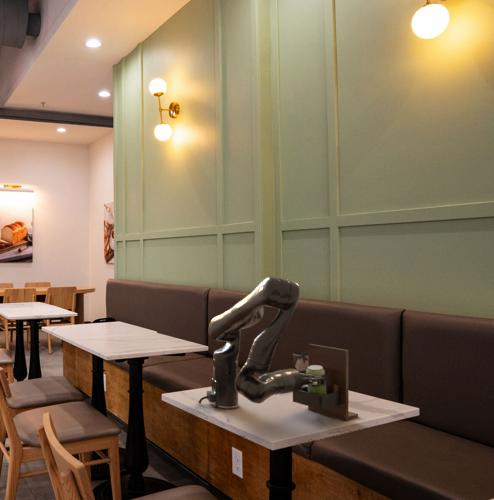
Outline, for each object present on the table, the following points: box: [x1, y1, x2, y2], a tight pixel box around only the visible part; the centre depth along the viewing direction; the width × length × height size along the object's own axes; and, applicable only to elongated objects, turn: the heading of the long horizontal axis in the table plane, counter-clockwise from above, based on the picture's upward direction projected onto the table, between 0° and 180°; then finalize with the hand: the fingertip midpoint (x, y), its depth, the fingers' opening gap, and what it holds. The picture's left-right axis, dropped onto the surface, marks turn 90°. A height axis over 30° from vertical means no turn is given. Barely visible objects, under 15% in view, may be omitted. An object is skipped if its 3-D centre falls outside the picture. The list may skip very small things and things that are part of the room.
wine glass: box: [292, 351, 308, 387], centre depth 218 cm, size 8×8×15 cm
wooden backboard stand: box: [292, 343, 359, 422], centre depth 180 cm, size 19×15×24 cm
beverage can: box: [306, 365, 327, 395], centre depth 178 cm, size 6×7×12 cm
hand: (315, 375), depth 178 cm, fingers open, 8 cm apart
